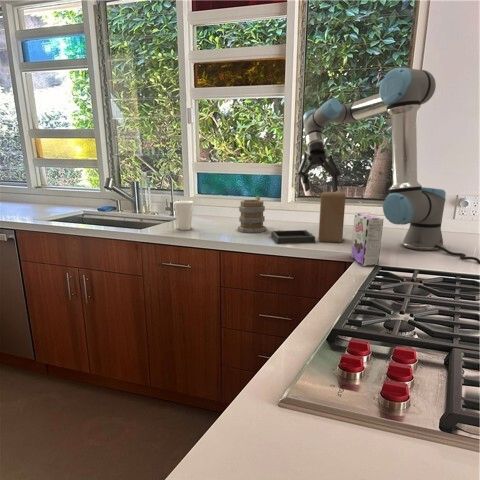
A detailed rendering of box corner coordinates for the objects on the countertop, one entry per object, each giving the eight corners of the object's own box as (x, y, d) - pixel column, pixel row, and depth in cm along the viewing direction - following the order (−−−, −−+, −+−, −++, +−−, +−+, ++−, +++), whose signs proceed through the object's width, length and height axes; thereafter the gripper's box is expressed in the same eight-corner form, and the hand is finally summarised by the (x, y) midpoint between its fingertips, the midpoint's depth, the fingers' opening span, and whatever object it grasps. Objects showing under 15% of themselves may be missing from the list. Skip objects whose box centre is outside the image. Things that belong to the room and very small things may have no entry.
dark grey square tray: (314, 242, 196) (315, 236, 196) (277, 243, 195) (277, 237, 194) (305, 235, 211) (305, 230, 210) (271, 236, 210) (271, 230, 209)
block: (342, 242, 195) (345, 194, 188) (318, 242, 197) (320, 193, 190) (342, 238, 205) (345, 191, 197) (319, 237, 207) (321, 191, 199)
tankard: (260, 233, 217) (261, 200, 212) (235, 231, 221) (235, 199, 215) (271, 226, 235) (272, 196, 229) (248, 225, 239) (248, 195, 233)
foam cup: (198, 228, 231) (197, 201, 226) (186, 231, 224) (185, 203, 219) (183, 226, 236) (181, 200, 231) (171, 229, 229) (169, 202, 224)
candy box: (350, 257, 171) (354, 212, 165) (366, 256, 172) (370, 211, 166) (362, 266, 158) (366, 218, 152) (379, 266, 159) (384, 217, 153)
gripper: (336, 151, 213) (342, 195, 209) (286, 148, 205) (292, 193, 201) (344, 143, 205) (351, 187, 202) (293, 138, 198) (299, 185, 194)
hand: (321, 190), depth 202 cm, fingers open, 13 cm apart
